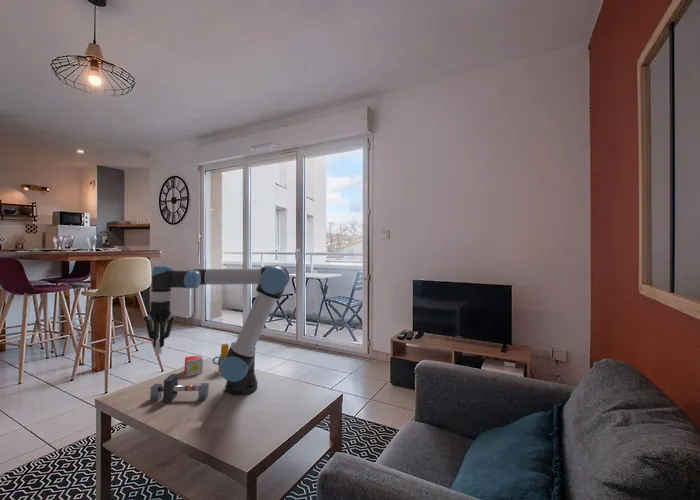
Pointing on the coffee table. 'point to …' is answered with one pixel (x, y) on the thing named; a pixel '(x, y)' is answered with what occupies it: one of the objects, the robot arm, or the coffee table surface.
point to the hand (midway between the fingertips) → (158, 354)
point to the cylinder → (222, 355)
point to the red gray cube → (193, 365)
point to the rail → (158, 389)
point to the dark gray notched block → (170, 388)
